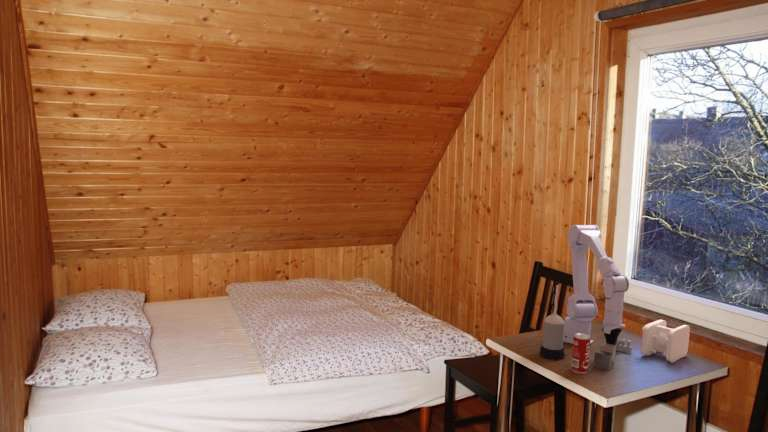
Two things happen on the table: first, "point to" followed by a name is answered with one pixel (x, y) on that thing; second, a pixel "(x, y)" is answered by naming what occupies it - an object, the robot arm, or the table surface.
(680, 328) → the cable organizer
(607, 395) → the table surface
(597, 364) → the block
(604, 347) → the grey slotted cube
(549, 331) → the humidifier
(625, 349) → the cable comb
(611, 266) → the robot arm
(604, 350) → the dark grey rod
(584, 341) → the soda can
